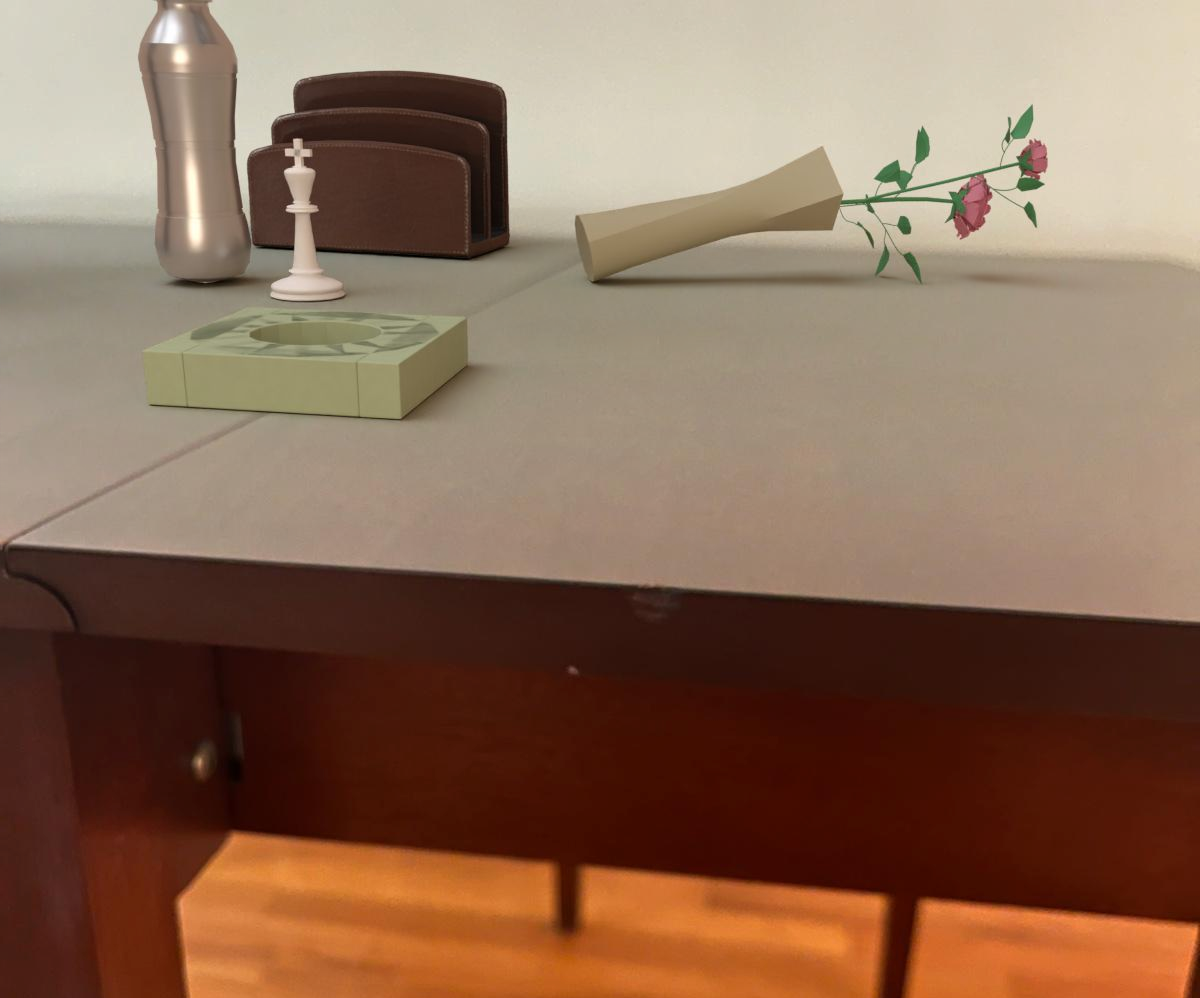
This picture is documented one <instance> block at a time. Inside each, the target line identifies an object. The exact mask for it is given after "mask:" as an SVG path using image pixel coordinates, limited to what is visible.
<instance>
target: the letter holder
mask: <svg viewBox="0 0 1200 998" xmlns="http://www.w3.org/2000/svg"><path fill="white" fill-rule="evenodd" d="M292 99H293V110H294V112H291V113H286V114H281V115H279V116H277V117H276V118H275V119H274V120H273V122H272V123H271V127H270V134H271V135H270V137H271V138H270V139H271V144H270V145H266V146H261V147H258V148H255V149H253V150H252V151H250V153H249V155H248V157H247V159H246V173H247V185H248V186H247V187H248V188H247V189H248V199H249V200H248V202H249V203H248V204H249V220H250V222H249V223H250V224H249V225H250V232H251V233H250V236H251V244H252V245H253V246H254V247H261V246H268V247H267V248H284V249H293V250H294V245H295V213H290V212H287V211H286V209H287V206H288V205H293V204H294V203H293V202H294V198H293V196H292V194H291V191H290V188H289V185H288V182H287V180H286V178H285V175H284V171H285V170H286V169H288V168H293V166H295V158H294V156H285V149H294V143H293V139H302V144H303V149H312V157H303V160H304V166H306V168H311V169H313V170H314V171H315V173H316V174H315V179H314V182H313V186H312V191H311V195H310V198H309V201H310V202H311V203H309V204H311V205H316V206H317V209H319V211H318V212H314V213H310V221H311V227H312V234H313V239H314V245H315V250H316V251H330V252H331V251H333V252H346V253H347V252H349V253H351V252H352V253H363V254H364V253H368V254H385V255H386V254H389V255H390V254H391V255H404V256H405V255H406V256H421V257H435V258H453V259H466V260H469V259H472V258H474V257H477V256H480V255H484V254H486V253H489V252H492V251H496V250H498V249H501V248H504V247H507V246H508V245H509V244H510V237H511V233H510V198H509V197H510V195H509V153H508V152H509V151H508V101H507V100H508V99H507V96H506V92H505V91H504V89H503V87H502V86H500V85H499V84H496V83H495V82H492V81H491V82H490V81H487V80H481V79H477V78H472V77H465V76H459V75H454V74H453V75H452V74H444V73H437V72H427V71H418V70H417V71H415V70H364V71H363V70H362V71H349V72H337V73H329V74H320V75H314V76H309V77H304V78H301V79H299V80H297V82H296V83H295V84H294V86H293V91H292Z"/></svg>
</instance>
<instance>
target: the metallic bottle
mask: <svg viewBox="0 0 1200 998" xmlns="http://www.w3.org/2000/svg"><path fill="white" fill-rule="evenodd" d="M155 1H156V2H157V3H156V4H157V6H156V7H157V9H156V10H157V11H156V13H155V14H154V16H153V18H152V19H151V22H150V23H149V24H148V26H147V28H146V29H145V31H144V34H143V36H142V38H141V41H140V43H139V49H138V53H137V62H138V68H139V72H141V81H142V86H143V90H144V94H145V99H146V102H147V108H148V113H149V116H150V123H151V130H152V137H153V140H154V142H155V147H154V150H155V159H156V181H157V182H156V186H157V187H156V189H157V192H156V193H157V209H158V211H157V212H158V213H157V214H156V217H155V225H154V227H155V229H154V247H155V250H156V255H157V259H158V262H159V266H160V267H161V268H162V269H163V271H164V272H165V273H166V275H168V276H169V277H173V278H176V279H182V280H186V281H190V282H196V283H201V284H210V283H211V284H212V283H216V282H219V281H224V280H227V279H230V278H234V277H237V276H240V275H244V274H245V272H246V270H247V269H248V267H249V265H250V264H251V263H250V262H251V252H252V251H251V250H252V237H251V233H250V232H251V231H250V228H249V223H248V220H247V216H246V213H245V211H244V210H243V208H244V205H243V200H242V193H241V186H240V180H239V179H240V178H239V173H238V165H237V147H235V141H236V108H237V107H236V104H237V89H238V77H237V74H238V71H239V70H238V69H239V68H238V61H239V60H238V57H237V54H236V51H235V48H234V45H233V43H232V42H231V40H230V39H229V37H228V35H227V34H226V33H225V30H224V29H223V27H221V26H220V24H219V22H218V21H217V20H216V19H215V17H214V16H213V15H212V13H211V12H210V6H209V4H210V3H213V2H214V0H154V2H155Z"/></svg>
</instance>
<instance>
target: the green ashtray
mask: <svg viewBox="0 0 1200 998" xmlns="http://www.w3.org/2000/svg"><path fill="white" fill-rule="evenodd" d="M468 339H469V338H468V317H467V316H451V315H429V314H428V315H427V314H409V313H408V314H407V313H389V312H388V313H387V312H386V313H385V312H384V313H383V312H364V311H342V310H321V309H301V308H300V309H299V308H280V307H279V308H278V307H260V306H259V307H258V306H254V307H253V306H248V307H245V308H242V309H241V310H238V311H236V312H234V313H231V314H228V315H225V316H224V317H221V318H219V319H216V320H214V321H210V322H209V323H206V324H203V325H201V326H199V327H197V328H194V329H192V330H189V331H186V332H184V333H181V334H180V335H177V336H175V337H172V338H170V339H166V340H165V341H162V342H160V343H157V344H155V345H152V346H150V347H148V348H145V349H143V350H142V352H141V354H142V362H143V363H142V364H143V373H144V380H145V388H146V389H145V391H146V398H147V403H148V405H150V406H151V405H153V406H166V407H167V406H169V407H186V408H187V407H190V408H201V409H202V408H203V409H204V408H205V409H219V410H220V409H222V410H235V411H236V410H237V411H239V410H240V411H253V412H254V411H255V412H270V413H271V412H272V413H273V412H274V413H289V414H306V415H324V416H338V417H339V416H340V417H341V416H342V417H355V418H357V417H358V418H371V419H372V418H373V419H374V418H375V419H377V418H378V419H388V420H389V419H390V420H391V419H392V420H401V419H403V418H405V416H407V415H408V414H409V413H410V412H412V411H413V410H414V409H415V408H416V407H418V406H419V405H420V404H422V403H423V402H424V401H425V400H426V399H427V398H429V397H430V396H431V395H433V394H434V393H435V392H436V391H437V390H438V389H440V388H441V387H442V386H443V385H445V384H446V383H447V382H448V381H449V380H451V379H452V378H453V377H454V376H455V375H457V374H459V372H461V371H462V370H463V369H464V368H465V367H467V366H468V365H469V347H468V346H469V343H468V342H469V341H468Z"/></svg>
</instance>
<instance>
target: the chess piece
mask: <svg viewBox="0 0 1200 998" xmlns="http://www.w3.org/2000/svg"><path fill="white" fill-rule="evenodd" d="M293 143H294V149H285V156H294V158H295V166H293V168H288V169H286V170H285V171H284V175H285V178H286V180H287V182H288V185H289V188H290V191H291V194H292V196H293V198H294V202H293V203H294V204H293V205H288V206H287V209H286V211H287V212H290V213H295V245H294V249H293V261H292V268H290V269H288V272H289V273H290V275H288V276H287V277H284V278H283V277H282V278H281V279H278V280H276V281H274V282H273V283H271V285H270V290H271V292H270V297H271V298H272V299H275V300H280V301H290V302H319V301H321V302H322V301H330V300H336V299H340V298H343V297H344V296H345V294H346V293H345V291H344V290H343V289H344V284H343V282H341V281H339V280H337V279H335V278H333V277H328V276H325V275H323V274H322V273H323V272H324V271H325V270H324V269H323V268H321V267H320V265H319V260H318V256H317V250H315V245H314V239H313V234H312V227H311V221H310V213H314V212H318V211H319V209H317V206H316V205H311V204H309V203H311V202H310V201H309V198H310V195H311V191H312V186H313V182H314V179H315V174H316V173H315V171H314V170H313V169H311V168H306V166H304V160H303V157H312V149H303V144H302V139H293Z"/></svg>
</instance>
